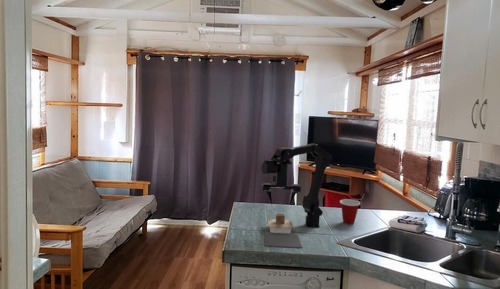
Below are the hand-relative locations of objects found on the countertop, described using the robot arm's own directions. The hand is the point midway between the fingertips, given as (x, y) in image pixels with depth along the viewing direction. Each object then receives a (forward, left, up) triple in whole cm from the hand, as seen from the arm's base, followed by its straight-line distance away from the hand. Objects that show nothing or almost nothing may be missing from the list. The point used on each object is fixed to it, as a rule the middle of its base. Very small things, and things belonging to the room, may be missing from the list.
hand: (280, 204), depth 183 cm
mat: (0, +16, -13) cm, 21 cm away
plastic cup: (-39, -18, -13) cm, 45 cm away
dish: (0, 0, -13) cm, 13 cm away
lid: (0, 0, -10) cm, 10 cm away
